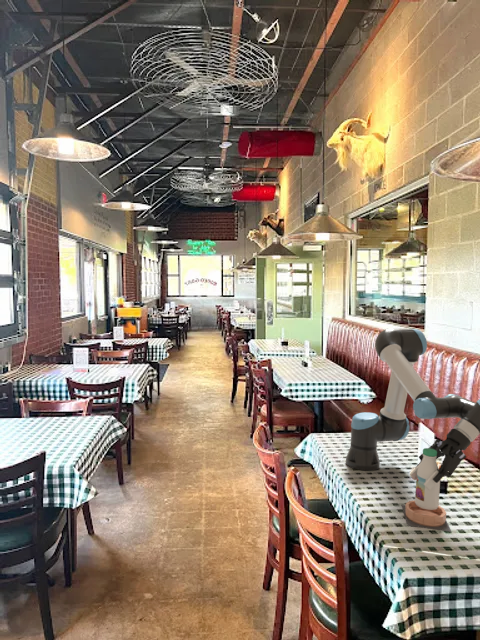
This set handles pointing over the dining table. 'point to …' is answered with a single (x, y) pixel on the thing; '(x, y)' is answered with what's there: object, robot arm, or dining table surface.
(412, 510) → the bowl
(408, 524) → the mat
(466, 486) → the dining table surface
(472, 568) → the dining table surface
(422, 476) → the milk bottle
